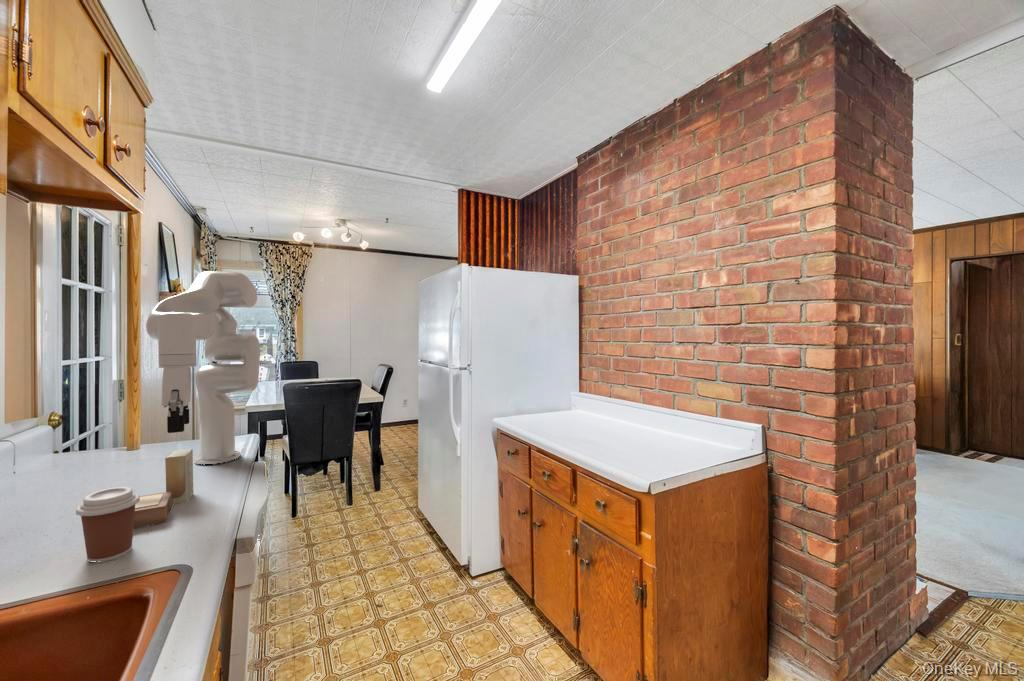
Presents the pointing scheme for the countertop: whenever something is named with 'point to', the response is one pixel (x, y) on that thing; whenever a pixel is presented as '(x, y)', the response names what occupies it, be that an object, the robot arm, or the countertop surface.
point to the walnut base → (153, 509)
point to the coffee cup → (108, 522)
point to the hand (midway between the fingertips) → (178, 428)
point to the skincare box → (180, 475)
